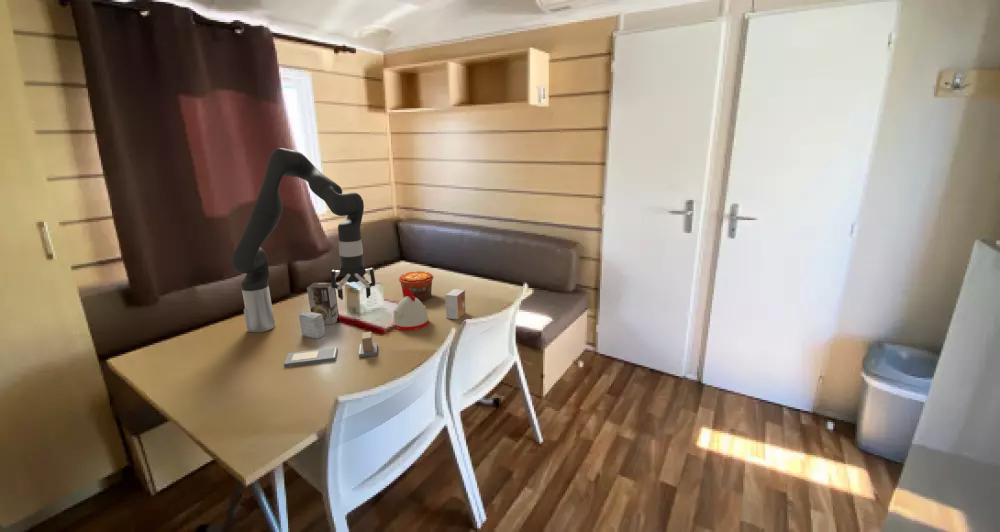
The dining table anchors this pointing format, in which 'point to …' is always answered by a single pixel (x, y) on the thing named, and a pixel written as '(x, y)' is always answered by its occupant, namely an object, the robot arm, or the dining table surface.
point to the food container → (417, 284)
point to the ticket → (310, 357)
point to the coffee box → (323, 301)
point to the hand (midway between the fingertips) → (355, 298)
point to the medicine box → (312, 324)
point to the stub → (367, 346)
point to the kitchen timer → (410, 313)
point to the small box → (455, 304)
